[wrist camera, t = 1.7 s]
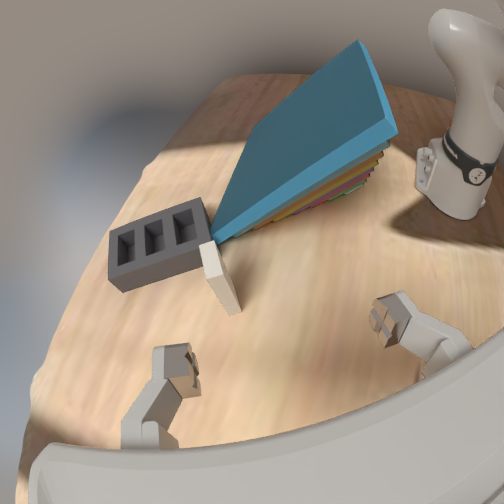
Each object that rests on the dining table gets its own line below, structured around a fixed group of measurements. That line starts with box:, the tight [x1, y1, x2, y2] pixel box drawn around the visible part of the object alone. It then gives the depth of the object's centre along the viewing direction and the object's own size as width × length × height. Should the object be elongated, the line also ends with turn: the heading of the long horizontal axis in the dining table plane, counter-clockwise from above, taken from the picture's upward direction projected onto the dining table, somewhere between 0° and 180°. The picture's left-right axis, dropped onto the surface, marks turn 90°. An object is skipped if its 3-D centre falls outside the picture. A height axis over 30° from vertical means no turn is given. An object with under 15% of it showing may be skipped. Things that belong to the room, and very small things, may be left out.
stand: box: [108, 197, 213, 293], centre depth 47 cm, size 11×19×5 cm, turn 107°
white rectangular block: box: [199, 240, 242, 316], centre depth 38 cm, size 5×2×12 cm, turn 16°
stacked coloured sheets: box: [210, 40, 398, 246], centre depth 47 cm, size 35×18×35 cm
